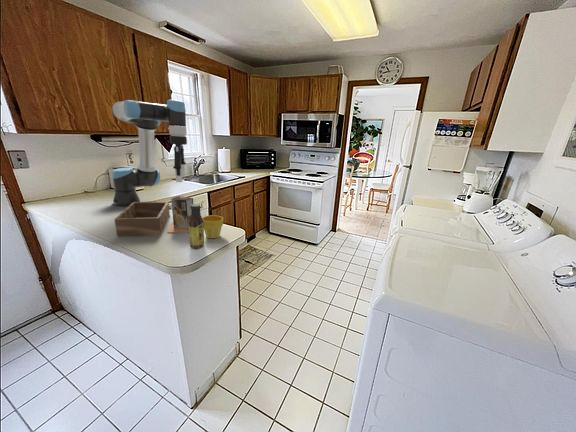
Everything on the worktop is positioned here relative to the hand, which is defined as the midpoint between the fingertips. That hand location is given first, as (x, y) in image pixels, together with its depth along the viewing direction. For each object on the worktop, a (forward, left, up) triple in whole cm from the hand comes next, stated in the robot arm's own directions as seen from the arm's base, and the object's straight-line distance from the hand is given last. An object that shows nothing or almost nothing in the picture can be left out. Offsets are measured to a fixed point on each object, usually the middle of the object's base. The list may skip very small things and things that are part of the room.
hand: (180, 179), depth 121 cm
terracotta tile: (0, 0, -26) cm, 27 cm away
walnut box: (-5, -19, -26) cm, 33 cm away
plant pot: (+13, +15, -27) cm, 33 cm away
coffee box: (0, 0, -26) cm, 26 cm away
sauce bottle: (+24, +8, -27) cm, 37 cm away
